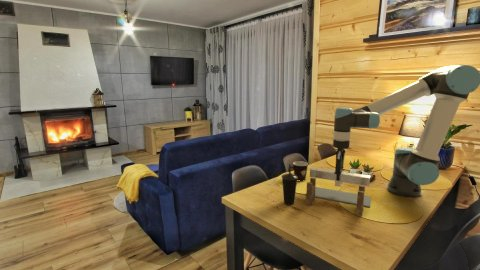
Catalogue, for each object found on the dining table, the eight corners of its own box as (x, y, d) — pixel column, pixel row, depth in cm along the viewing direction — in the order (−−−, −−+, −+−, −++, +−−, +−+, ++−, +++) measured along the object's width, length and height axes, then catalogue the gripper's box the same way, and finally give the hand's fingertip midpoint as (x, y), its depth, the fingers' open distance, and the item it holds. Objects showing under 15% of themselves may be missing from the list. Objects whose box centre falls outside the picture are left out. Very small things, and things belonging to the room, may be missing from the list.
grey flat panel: (371, 197, 131) (371, 196, 131) (370, 207, 120) (370, 206, 120) (311, 187, 145) (311, 186, 145) (305, 195, 134) (305, 194, 134)
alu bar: (369, 183, 126) (370, 175, 125) (369, 186, 123) (369, 178, 122) (311, 174, 139) (311, 167, 138) (309, 176, 136) (309, 169, 135)
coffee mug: (306, 176, 160) (306, 161, 158) (308, 182, 152) (309, 165, 149) (287, 176, 161) (287, 161, 159) (288, 181, 153) (288, 165, 151)
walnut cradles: (363, 208, 120) (365, 185, 118) (361, 216, 113) (363, 192, 111) (310, 197, 131) (310, 177, 129) (306, 204, 124) (306, 183, 122)
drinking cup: (287, 208, 121) (288, 167, 117) (278, 201, 128) (278, 162, 124) (300, 204, 125) (301, 164, 121) (290, 198, 131) (291, 160, 127)
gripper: (336, 135, 136) (333, 177, 140) (330, 142, 121) (327, 189, 126) (351, 136, 132) (348, 180, 137) (347, 144, 117) (344, 192, 122)
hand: (338, 184), depth 131 cm, fingers closed on alu bar, 4 cm apart
